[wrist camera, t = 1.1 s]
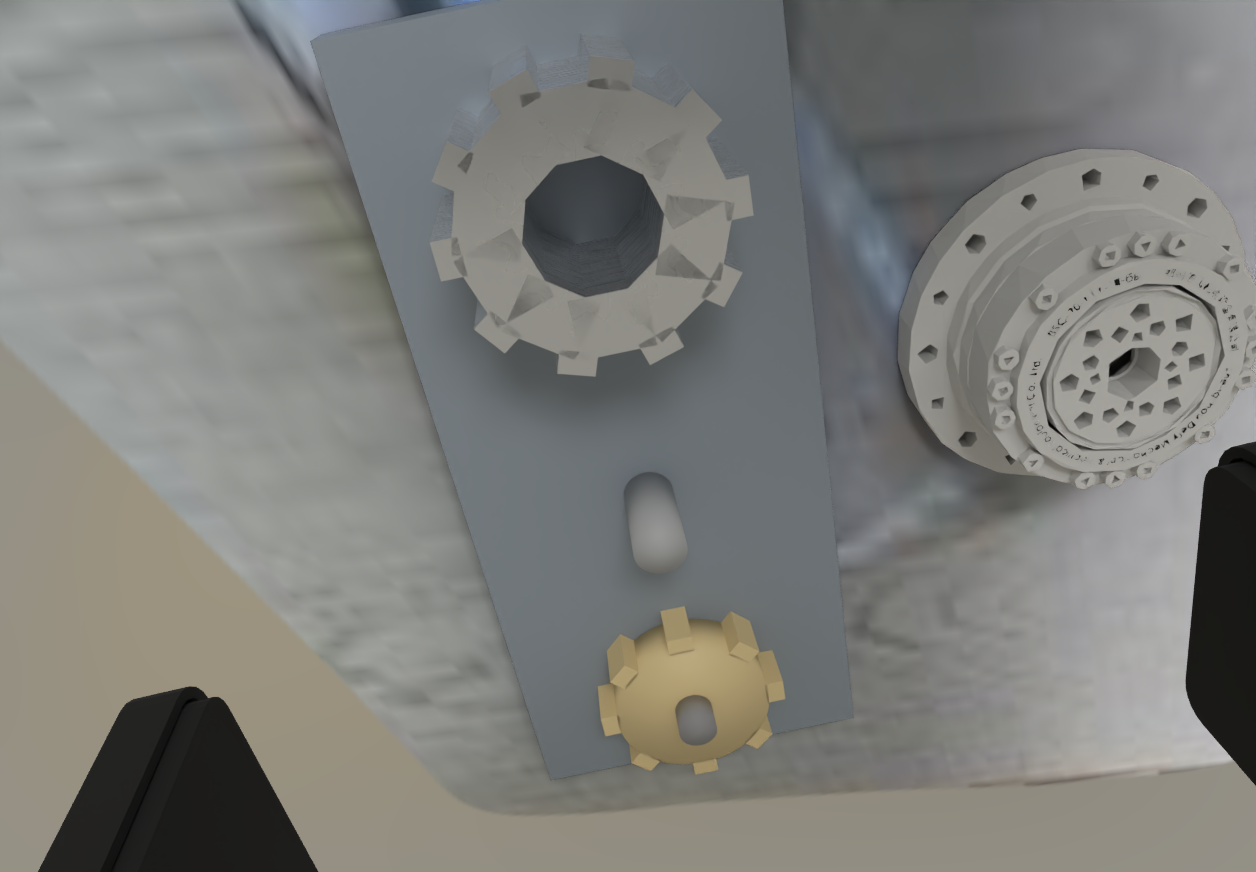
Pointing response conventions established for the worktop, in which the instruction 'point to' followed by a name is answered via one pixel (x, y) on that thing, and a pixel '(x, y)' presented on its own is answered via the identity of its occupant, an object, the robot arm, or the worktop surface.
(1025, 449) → the mechanical component
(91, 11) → the worktop surface
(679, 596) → the gear board
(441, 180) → the steel gear
